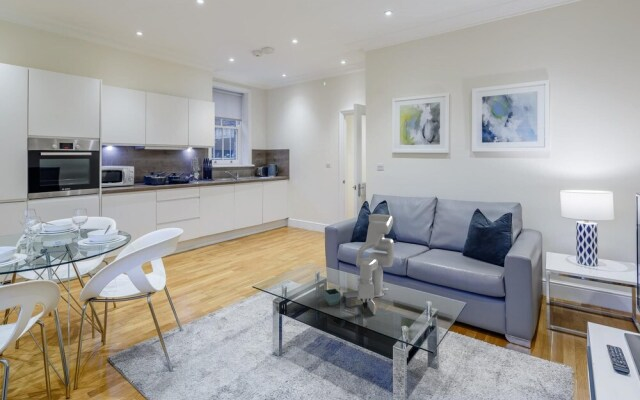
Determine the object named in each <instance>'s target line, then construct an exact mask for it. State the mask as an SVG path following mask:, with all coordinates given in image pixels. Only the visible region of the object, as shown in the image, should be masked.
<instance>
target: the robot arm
mask: <svg viewBox="0 0 640 400" xmlns="http://www.w3.org/2000/svg"><path fill="white" fill-rule="evenodd" d="M368 222H369V223H368V226H367V227H368V228H367V235H366V240H365V242H364V244H362V245H361V246H360V247H359V248H358V249H359V250H358V251H357V255H356V261H355V265H356V267H357V268H358V269H360V270H359V271H360V272H359V275H360V276H359V278H358V279H357V281H358V286H357V291H358V293H357V294H358V296H357V299H359V300H361V301H363V306H362V307H363V309H368V308H369V307H368V302H369V301H370V300H371V299H372V300H374V298H380V297H384V295H385V292H389V288H388V287H387V288H386V287H383V282H384V281H383V277H384V276H383V275H384V271H383V269H382V267H384V268H385V267H386V268H390V267H393V264H394V257H395V256H394V255H395V242H394V240H393V238H389V237H388V238H387V237H385V235H388V234H390V231H391V230H392V226H393V225H394V217H393V216H392V215H391V214H381V213H372V214H369V215H368ZM371 248H372V250H374V251H372V252H370V253H369V254H368V257H364V256H363V254H364V252H365V251H366V250H369V249H371ZM377 251H379V252H377ZM362 256H363V257H362ZM365 299H366V301H365Z"/></svg>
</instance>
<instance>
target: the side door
mask: <svg viewBox="0 0 640 400" xmlns="http://www.w3.org/2000/svg"><path fill="white" fill-rule="evenodd" d="M373 300H374V299H371V300H370V301H369V302H368V307H367V308H369V310H370V311H371V312H372V315H376V312H378V306H376V303H375V302H374V301H373Z"/></svg>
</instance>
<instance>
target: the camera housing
mask: <svg viewBox="0 0 640 400" xmlns="http://www.w3.org/2000/svg"><path fill="white" fill-rule="evenodd" d="M357 293H358V290H354V291H353V290H351V291H343V292H342V297H341V303H342V304H343V305H344V306H345V308H353V307H354V308H355V307H356V308H357V307H363V301H361V300H359V299H357V296H358V294H357ZM365 301H366V299H365Z"/></svg>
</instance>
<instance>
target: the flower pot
mask: <svg viewBox="0 0 640 400" xmlns="http://www.w3.org/2000/svg"><path fill="white" fill-rule="evenodd" d="M323 293H324V294H323V295H324V299H325V301H326V302H327V304H328V305H329V306H330V307H331V306H336V305H338V304H339V302H340V299H341V292H340V291H339V290H338V289H337V288H330V289H325V290H324V291H323Z"/></svg>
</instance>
